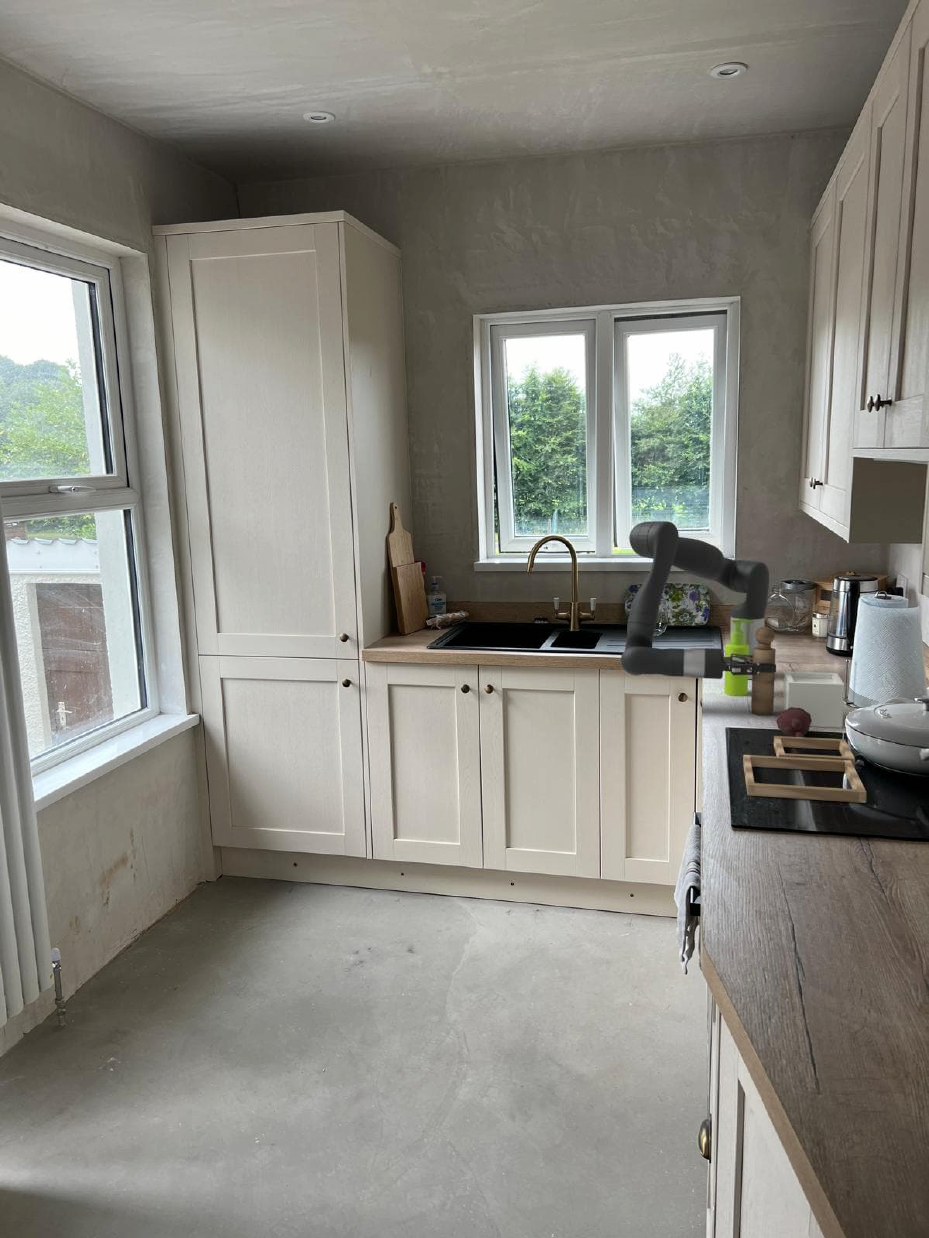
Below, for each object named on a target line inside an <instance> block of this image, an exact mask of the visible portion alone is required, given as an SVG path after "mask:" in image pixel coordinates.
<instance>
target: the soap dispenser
mask: <svg viewBox="0 0 929 1238" xmlns="http://www.w3.org/2000/svg"><path fill="white" fill-rule="evenodd" d="M732 622H733V623H734V631H732V632H731V631H730V632H731V643H730V642H729V643H727V644H725V656H724V657H730V654H742V655H749V645H747V644H744V632H742V631H741V623H752V624H753V623H754V622H753V621H752V620H747V619H734V620H732ZM748 683H749V679H748V675H732V673H731V672H729V671H724V692H723V693H724V694H725V695H727V696H733V697H743V696H747V695H748V686H749V685H748Z"/></svg>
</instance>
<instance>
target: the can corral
mask: <svg viewBox="0 0 929 1238" xmlns="http://www.w3.org/2000/svg"><path fill="white" fill-rule="evenodd" d="M773 747H774V752H775V754H776V756H775V757H794V758H812V759H831V760H849V761H851V762H852V764H853V766H854V768H855V766H856V758H855V756H854V754H853V753H852V750H851V748H850V747H849V745H848V743H847V741H846V739H842V738H841V739H840V738H826V737H825V738H824V737H823V738H821V737H806V736H804V737H790V736H785V735H784V736H783V735H774V736H773ZM784 748H796V749H798V748H799V749H818V750H836V751H839V752H840V755H841V756H840V755H839V756H837V755H823V754H822V755H820V754H802V753H801V754H800V753H786V752H785V750H784Z"/></svg>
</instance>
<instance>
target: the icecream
mask: <svg viewBox="0 0 929 1238" xmlns="http://www.w3.org/2000/svg"><path fill="white" fill-rule="evenodd" d="M775 721H776V726H777V728H778V729H779V730H780V731H781V732H782V733H783V734H784V736H786V737H805V735H806V734H807V733H808V732H809V731H810V727H811V726H810V724H811V722H812V720H811V715H810V714H809V713H808V712H806V711H805V710H804V709H802V708H794V707H789V708H788V709H787V710H785V711H783V710H782V711H781V712H780V713H779V716H778V717H777V718H776V720H775Z"/></svg>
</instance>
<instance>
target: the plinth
mask: <svg viewBox="0 0 929 1238" xmlns="http://www.w3.org/2000/svg"><path fill="white" fill-rule="evenodd" d="M783 676H784V677H783V696H782V697H783V700H782V712H783V711H785V710H787V709H788V708H789V707H794V708H802V709H804V710H805V711H806V712H808V713H809V714H810V715H811V720H812V722H811V724H810V727H819V728H821V727H822V728H838V729H839V728H843V719H844V718H843V717H844V695H845V693H844V692H845V683H844V682H843V680H842V678H841V677H840V675H839V674H838V673H837V672H817V671H816V672H815V671H813V672H812V671H789V670H788V671H784V672H783Z"/></svg>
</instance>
